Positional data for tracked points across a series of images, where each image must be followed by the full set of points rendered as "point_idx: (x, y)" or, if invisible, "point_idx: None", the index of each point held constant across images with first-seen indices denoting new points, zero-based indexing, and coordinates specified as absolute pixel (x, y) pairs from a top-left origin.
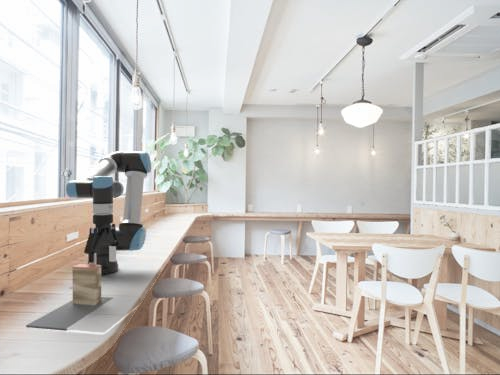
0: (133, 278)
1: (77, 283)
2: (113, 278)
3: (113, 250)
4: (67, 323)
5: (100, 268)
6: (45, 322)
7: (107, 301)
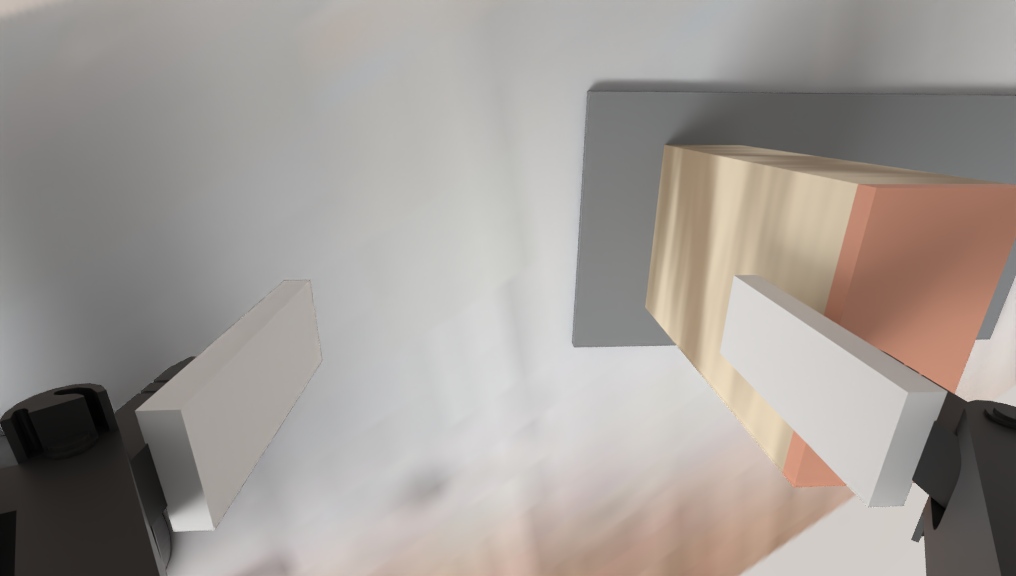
0: (88, 198)
1: None
2: (165, 358)
3: (235, 392)
4: (1014, 136)
5: (858, 179)
6: None
7: (668, 92)
